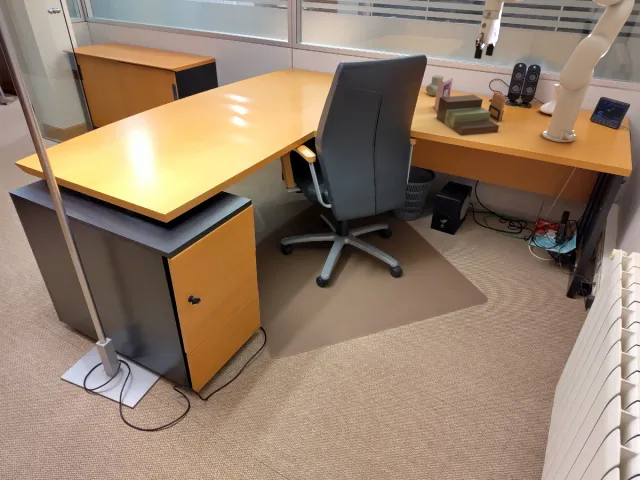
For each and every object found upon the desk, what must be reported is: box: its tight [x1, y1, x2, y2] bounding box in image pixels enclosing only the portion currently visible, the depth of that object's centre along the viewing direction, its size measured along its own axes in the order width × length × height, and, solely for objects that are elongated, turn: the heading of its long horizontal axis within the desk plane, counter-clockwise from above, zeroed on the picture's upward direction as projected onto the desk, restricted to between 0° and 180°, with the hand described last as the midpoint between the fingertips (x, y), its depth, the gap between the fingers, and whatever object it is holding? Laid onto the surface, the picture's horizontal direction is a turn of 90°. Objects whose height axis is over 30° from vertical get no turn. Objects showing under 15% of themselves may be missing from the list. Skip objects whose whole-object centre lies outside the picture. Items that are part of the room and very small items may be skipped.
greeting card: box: [433, 77, 454, 112], centre depth 215 cm, size 11×7×15 cm, turn 143°
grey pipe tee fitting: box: [425, 74, 444, 97], centre depth 239 cm, size 11×8×10 cm
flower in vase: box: [539, 80, 562, 116], centre depth 209 cm, size 13×11×25 cm
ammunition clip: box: [487, 89, 506, 122], centre depth 206 cm, size 11×2×12 cm, turn 9°
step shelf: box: [436, 94, 500, 136], centre depth 198 cm, size 24×18×10 cm
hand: (483, 57), depth 194 cm, fingers open, 9 cm apart
